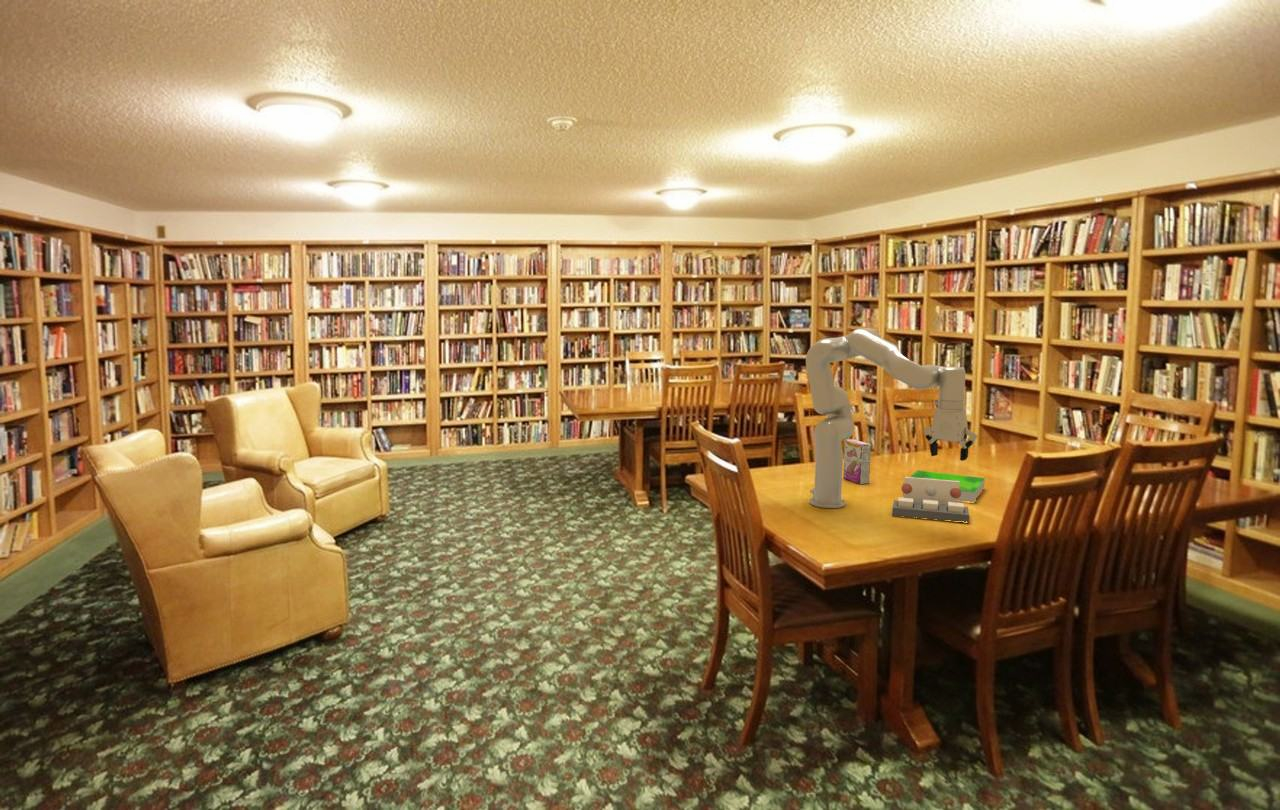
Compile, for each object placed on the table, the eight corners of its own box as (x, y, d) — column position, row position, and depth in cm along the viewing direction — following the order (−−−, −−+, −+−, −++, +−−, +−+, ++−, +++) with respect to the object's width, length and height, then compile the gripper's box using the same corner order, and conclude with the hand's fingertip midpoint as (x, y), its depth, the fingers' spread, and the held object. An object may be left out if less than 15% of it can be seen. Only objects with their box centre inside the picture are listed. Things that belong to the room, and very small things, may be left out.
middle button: (922, 511, 249) (922, 503, 248) (922, 507, 253) (923, 499, 253) (937, 513, 247) (938, 504, 246) (937, 509, 251) (938, 500, 251)
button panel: (892, 516, 250) (893, 484, 249) (894, 505, 262) (895, 476, 261) (968, 523, 241) (970, 491, 240) (966, 512, 254) (968, 482, 252)
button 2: (947, 514, 246) (948, 505, 245) (947, 510, 250) (948, 501, 250) (963, 515, 244) (964, 506, 244) (962, 511, 248) (963, 503, 248)
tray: (983, 490, 285) (984, 478, 285) (973, 505, 265) (974, 492, 264) (917, 482, 299) (917, 470, 298) (902, 495, 278) (903, 482, 277)
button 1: (897, 509, 252) (898, 500, 251) (898, 505, 256) (898, 497, 256) (912, 510, 250) (912, 502, 249) (912, 506, 254) (913, 498, 254)
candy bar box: (842, 478, 303) (843, 439, 300) (852, 477, 304) (853, 438, 302) (859, 484, 292) (861, 444, 290) (869, 483, 294) (871, 443, 292)
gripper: (919, 404, 237) (917, 455, 239) (972, 409, 224) (969, 463, 227) (930, 401, 242) (928, 452, 244) (983, 406, 229) (980, 460, 231)
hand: (948, 457), depth 235 cm, fingers open, 9 cm apart
